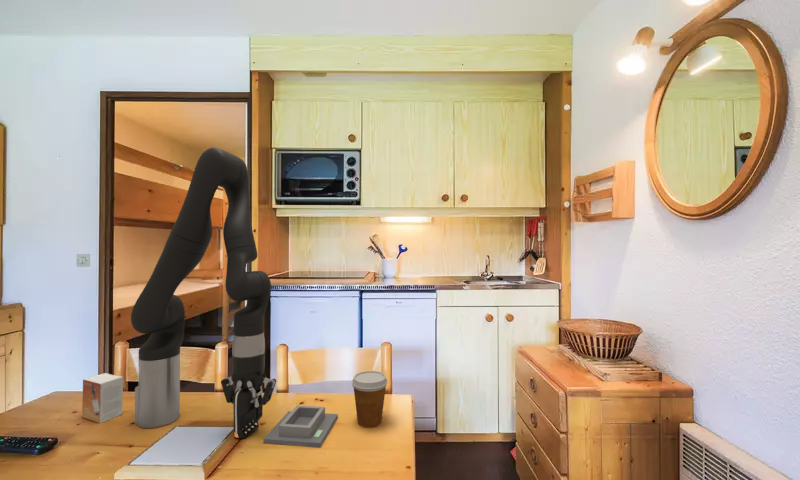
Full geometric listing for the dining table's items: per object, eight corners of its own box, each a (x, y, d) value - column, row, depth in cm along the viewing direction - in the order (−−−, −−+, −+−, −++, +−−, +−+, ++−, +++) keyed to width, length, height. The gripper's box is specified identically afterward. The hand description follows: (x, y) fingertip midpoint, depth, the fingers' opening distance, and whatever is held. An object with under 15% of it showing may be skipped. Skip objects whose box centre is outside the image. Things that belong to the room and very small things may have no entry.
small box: (81, 418, 96) (81, 379, 96) (105, 409, 102) (105, 372, 102) (99, 423, 93) (100, 383, 93) (123, 414, 99) (123, 376, 99)
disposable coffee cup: (344, 422, 95) (344, 376, 95) (370, 409, 102) (370, 367, 102) (368, 435, 88) (368, 386, 88) (394, 421, 95) (395, 376, 95)
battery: (246, 441, 86) (246, 393, 86) (232, 439, 86) (232, 391, 86) (263, 426, 92) (263, 382, 92) (250, 424, 93) (250, 380, 93)
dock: (263, 443, 85) (263, 428, 85) (288, 414, 99) (288, 402, 99) (320, 447, 83) (320, 432, 83) (337, 417, 97) (337, 404, 97)
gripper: (212, 354, 87) (212, 425, 86) (268, 357, 85) (268, 429, 85) (231, 345, 94) (230, 411, 94) (282, 347, 92) (282, 414, 92)
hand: (248, 419), depth 89 cm, fingers closed on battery, 4 cm apart
